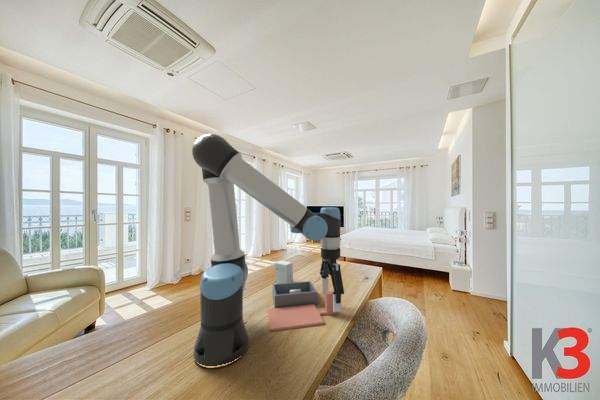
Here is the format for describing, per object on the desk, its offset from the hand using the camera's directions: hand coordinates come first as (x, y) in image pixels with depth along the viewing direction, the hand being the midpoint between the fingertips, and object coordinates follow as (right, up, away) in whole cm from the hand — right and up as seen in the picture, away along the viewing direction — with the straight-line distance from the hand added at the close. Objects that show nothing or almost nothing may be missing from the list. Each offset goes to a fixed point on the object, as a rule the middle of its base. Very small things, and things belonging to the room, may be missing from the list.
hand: (330, 302), depth 81 cm
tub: (-15, -4, +11) cm, 19 cm away
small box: (-21, -5, +30) cm, 37 cm away
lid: (-11, -4, -2) cm, 12 cm away
